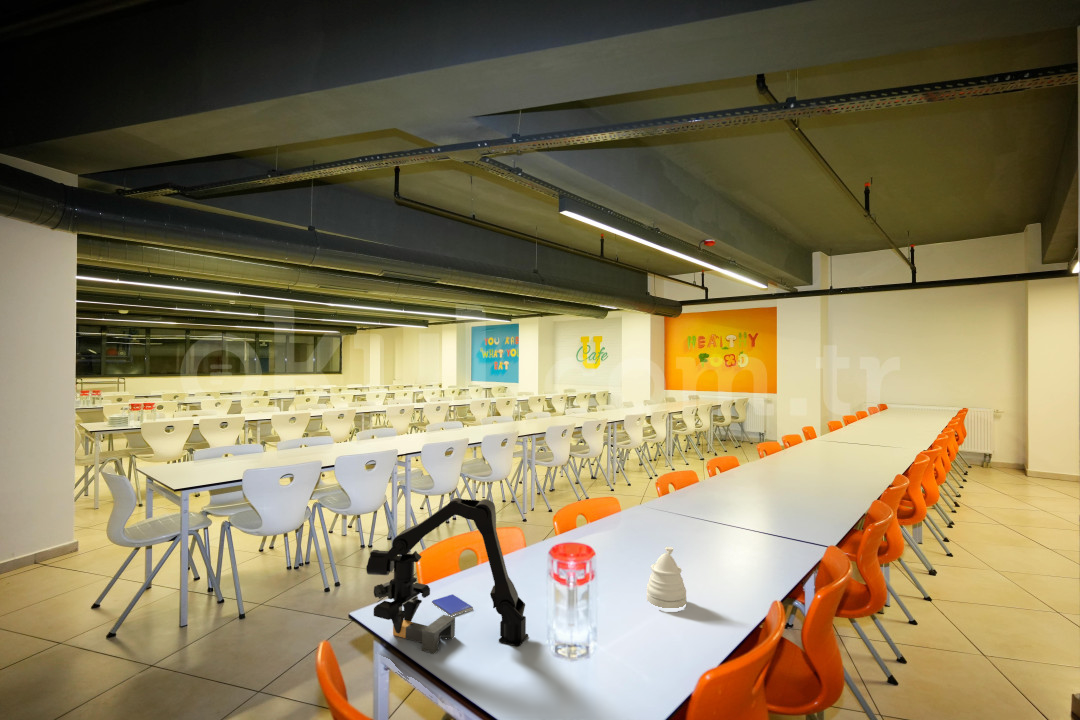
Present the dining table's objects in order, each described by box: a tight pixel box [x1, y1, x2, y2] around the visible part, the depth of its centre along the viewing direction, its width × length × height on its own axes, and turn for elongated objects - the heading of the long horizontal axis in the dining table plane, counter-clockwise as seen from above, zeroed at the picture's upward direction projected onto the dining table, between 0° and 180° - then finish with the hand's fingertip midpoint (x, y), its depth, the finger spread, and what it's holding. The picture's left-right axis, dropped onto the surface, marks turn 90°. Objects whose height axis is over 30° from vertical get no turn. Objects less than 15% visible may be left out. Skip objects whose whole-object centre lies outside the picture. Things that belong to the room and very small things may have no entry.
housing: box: [421, 614, 456, 655], centre depth 140 cm, size 4×10×6 cm, turn 156°
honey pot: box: [646, 546, 687, 608], centre depth 167 cm, size 13×13×18 cm
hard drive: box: [431, 594, 474, 617], centre depth 163 cm, size 2×8×12 cm
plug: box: [392, 620, 441, 644], centre depth 143 cm, size 14×4×3 cm, turn 66°
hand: (402, 629), depth 145 cm, fingers closed on plug, 3 cm apart
